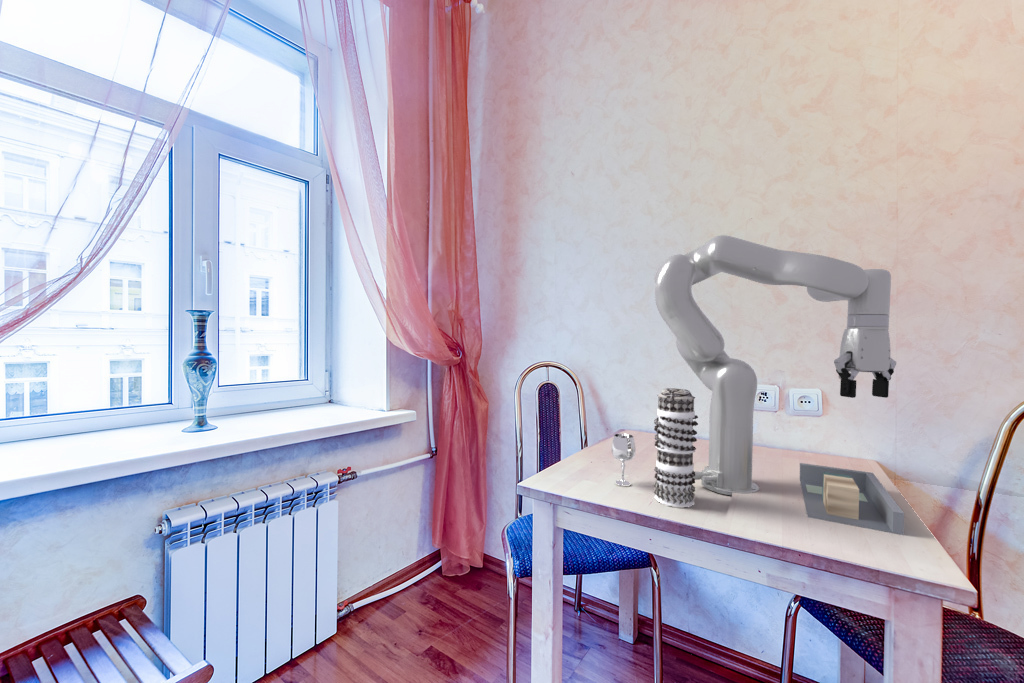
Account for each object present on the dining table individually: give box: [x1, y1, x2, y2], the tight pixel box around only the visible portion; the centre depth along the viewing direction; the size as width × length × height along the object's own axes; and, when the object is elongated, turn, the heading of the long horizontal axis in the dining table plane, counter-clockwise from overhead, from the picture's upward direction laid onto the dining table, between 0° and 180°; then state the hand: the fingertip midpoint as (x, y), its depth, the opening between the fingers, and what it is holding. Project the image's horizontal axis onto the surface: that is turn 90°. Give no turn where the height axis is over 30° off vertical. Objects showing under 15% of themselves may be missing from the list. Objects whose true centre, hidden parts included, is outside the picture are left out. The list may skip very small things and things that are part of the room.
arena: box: [799, 462, 905, 536], centre depth 95 cm, size 28×14×5 cm, turn 149°
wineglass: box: [611, 433, 636, 485], centre depth 107 cm, size 6×6×12 cm
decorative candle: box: [653, 387, 699, 508], centre depth 97 cm, size 9×9×25 cm
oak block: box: [822, 472, 859, 520], centre depth 91 cm, size 10×5×6 cm, turn 149°
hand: (864, 396), depth 100 cm, fingers open, 9 cm apart
